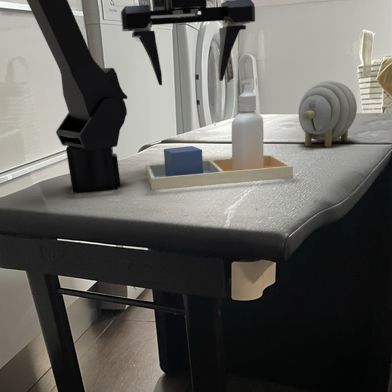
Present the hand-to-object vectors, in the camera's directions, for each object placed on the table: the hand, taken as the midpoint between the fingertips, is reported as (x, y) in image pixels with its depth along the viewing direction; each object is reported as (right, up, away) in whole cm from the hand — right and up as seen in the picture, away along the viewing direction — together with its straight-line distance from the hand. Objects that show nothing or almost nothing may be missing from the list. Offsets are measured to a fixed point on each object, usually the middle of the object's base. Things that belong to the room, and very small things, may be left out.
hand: (190, 82), depth 82 cm
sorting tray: (+4, -15, -1) cm, 15 cm away
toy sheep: (+26, 0, +25) cm, 36 cm away
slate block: (-1, -16, -3) cm, 16 cm away
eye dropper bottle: (+9, -14, 0) cm, 16 cm away
